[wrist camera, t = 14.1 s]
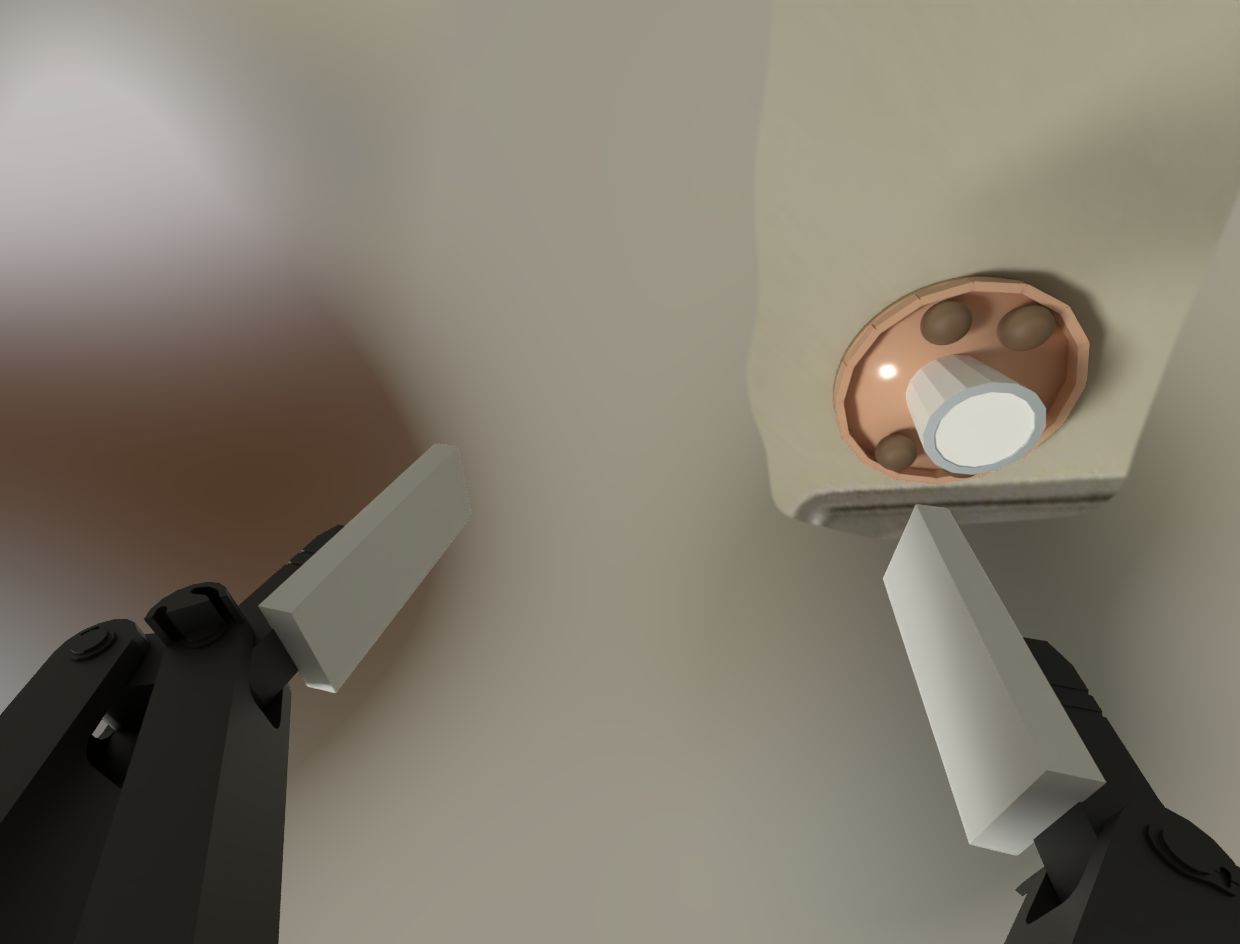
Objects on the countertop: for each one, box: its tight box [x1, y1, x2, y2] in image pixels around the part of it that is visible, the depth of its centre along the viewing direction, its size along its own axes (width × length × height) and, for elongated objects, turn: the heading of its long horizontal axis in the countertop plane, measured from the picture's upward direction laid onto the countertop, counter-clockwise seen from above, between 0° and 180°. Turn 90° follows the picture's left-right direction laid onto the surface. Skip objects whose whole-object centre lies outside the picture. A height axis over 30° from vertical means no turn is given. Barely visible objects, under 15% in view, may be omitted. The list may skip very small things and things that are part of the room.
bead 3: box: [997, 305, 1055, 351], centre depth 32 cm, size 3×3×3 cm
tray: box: [833, 276, 1090, 484], centre depth 37 cm, size 16×16×2 cm
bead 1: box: [875, 434, 917, 471], centre depth 39 cm, size 3×3×3 cm
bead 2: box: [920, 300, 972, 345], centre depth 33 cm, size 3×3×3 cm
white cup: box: [906, 354, 1046, 475], centre depth 34 cm, size 7×7×7 cm
